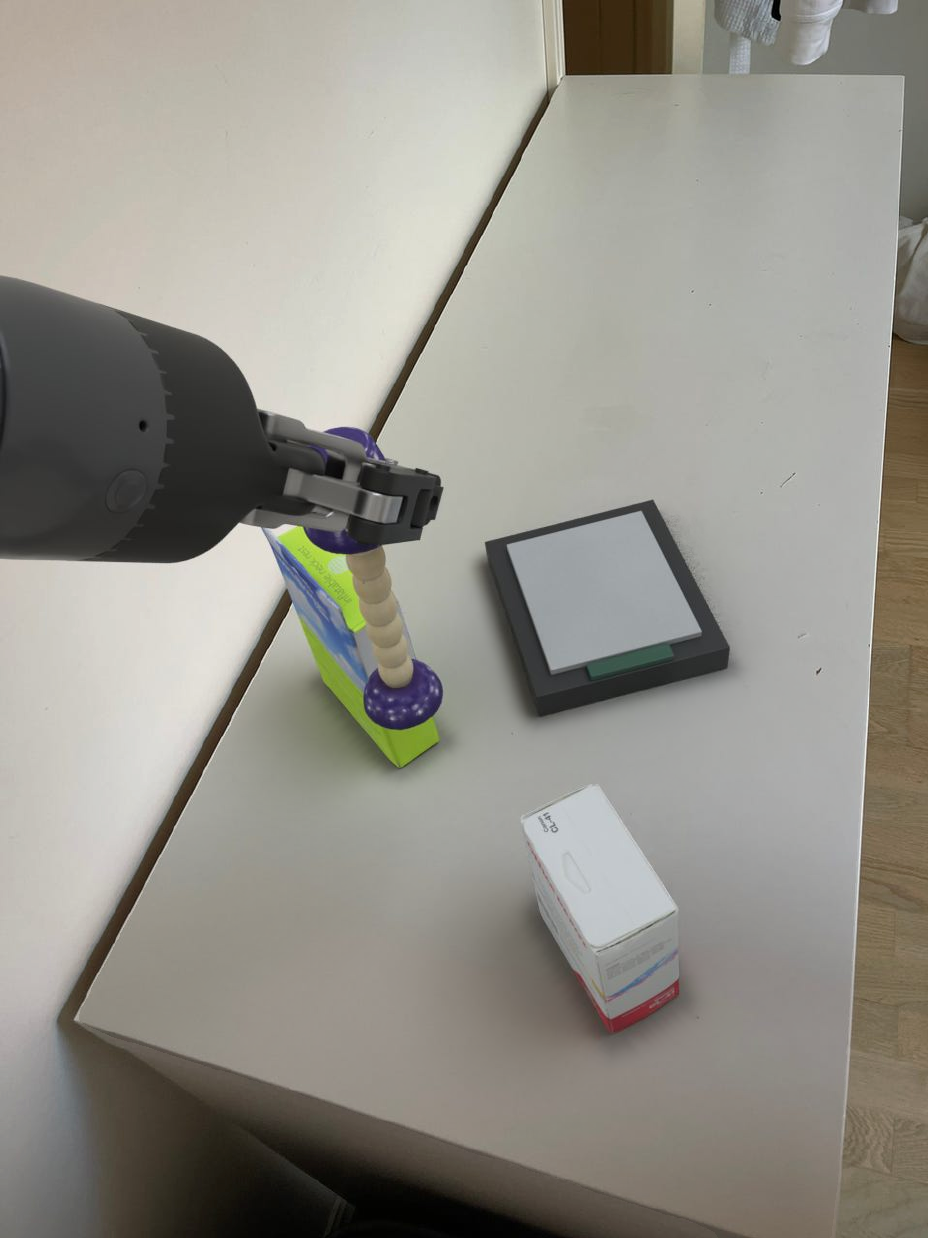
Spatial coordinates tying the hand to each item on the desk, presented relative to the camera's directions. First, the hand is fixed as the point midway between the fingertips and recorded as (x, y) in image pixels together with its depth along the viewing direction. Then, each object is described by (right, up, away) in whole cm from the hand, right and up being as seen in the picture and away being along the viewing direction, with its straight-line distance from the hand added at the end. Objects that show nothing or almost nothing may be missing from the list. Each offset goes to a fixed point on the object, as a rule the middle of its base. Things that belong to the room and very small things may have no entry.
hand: (379, 483), depth 44 cm
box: (-2, -13, +29) cm, 32 cm away
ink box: (+12, -26, +15) cm, 32 cm away
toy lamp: (+1, -10, +9) cm, 14 cm away
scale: (+14, -5, +32) cm, 36 cm away
